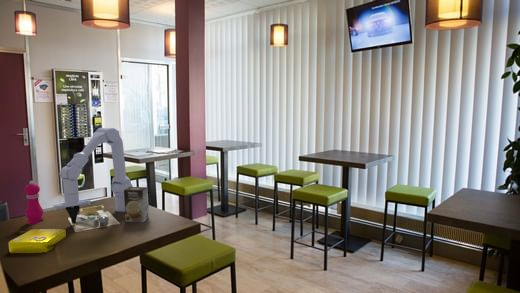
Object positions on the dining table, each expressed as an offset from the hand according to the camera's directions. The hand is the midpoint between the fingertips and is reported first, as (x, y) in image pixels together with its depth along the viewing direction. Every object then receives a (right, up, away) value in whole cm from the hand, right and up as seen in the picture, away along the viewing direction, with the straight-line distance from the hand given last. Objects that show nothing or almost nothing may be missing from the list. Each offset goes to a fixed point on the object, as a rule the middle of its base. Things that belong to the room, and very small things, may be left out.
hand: (73, 222), depth 163 cm
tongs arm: (+5, -1, +1) cm, 6 cm away
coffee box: (+26, -1, +6) cm, 27 cm away
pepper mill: (-22, -2, +8) cm, 24 cm away
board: (+6, -1, +6) cm, 9 cm away
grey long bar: (+10, 0, +5) cm, 11 cm away
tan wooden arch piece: (+2, +1, +14) cm, 14 cm away
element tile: (-4, -5, -20) cm, 21 cm away
